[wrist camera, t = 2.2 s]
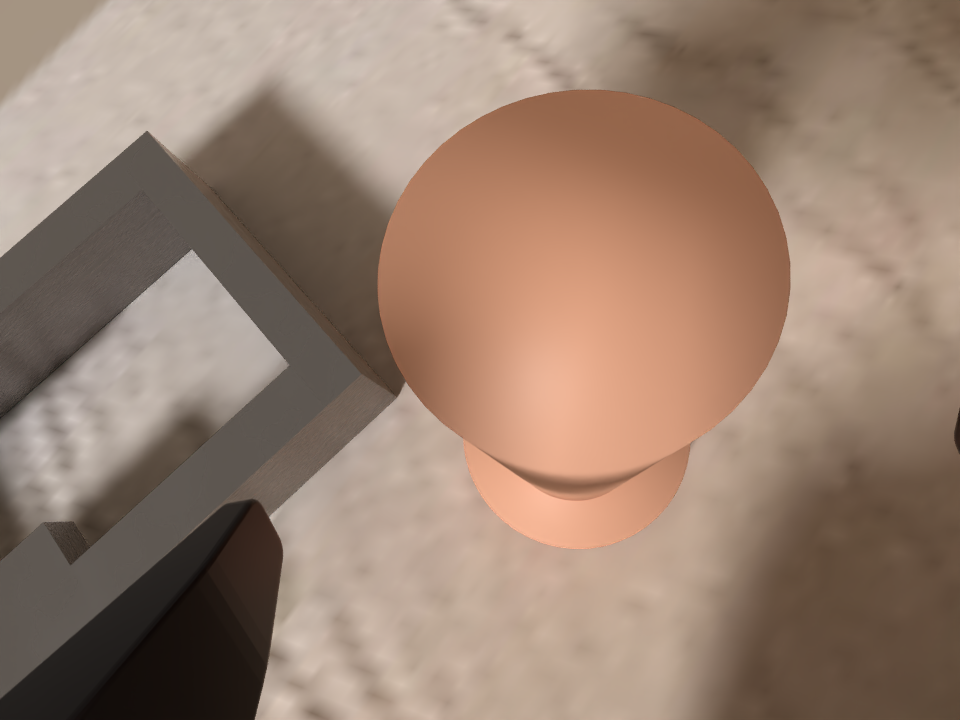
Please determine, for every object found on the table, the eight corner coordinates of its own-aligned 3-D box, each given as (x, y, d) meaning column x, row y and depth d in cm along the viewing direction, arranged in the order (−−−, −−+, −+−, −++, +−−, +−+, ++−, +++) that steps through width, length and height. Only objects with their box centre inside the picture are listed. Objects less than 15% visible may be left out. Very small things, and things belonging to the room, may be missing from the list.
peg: (684, 551, 17) (1007, 663, 4) (467, 540, 18) (212, 603, 5) (677, 339, 18) (903, -43, 6) (476, 339, 19) (292, 8, 7)
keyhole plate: (208, 186, 22) (147, 130, 19) (397, 397, 19) (361, 374, 16) (-194, 540, 21) (-332, 544, 18) (-60, 821, 18) (-196, 887, 15)
